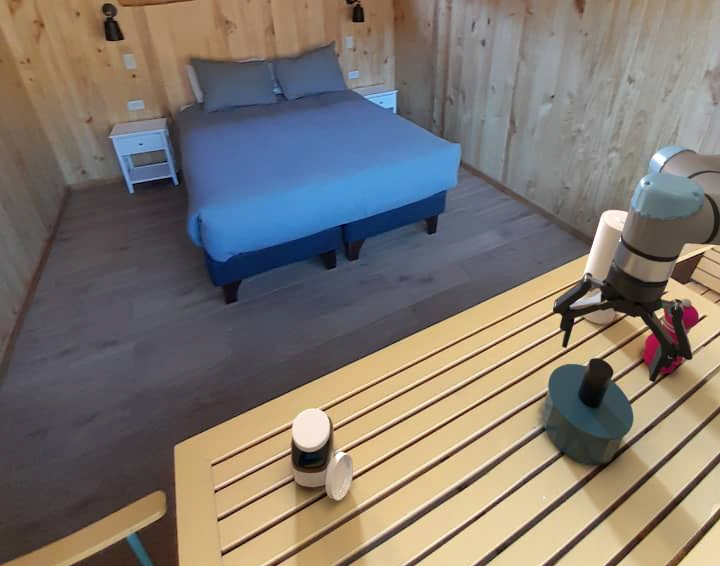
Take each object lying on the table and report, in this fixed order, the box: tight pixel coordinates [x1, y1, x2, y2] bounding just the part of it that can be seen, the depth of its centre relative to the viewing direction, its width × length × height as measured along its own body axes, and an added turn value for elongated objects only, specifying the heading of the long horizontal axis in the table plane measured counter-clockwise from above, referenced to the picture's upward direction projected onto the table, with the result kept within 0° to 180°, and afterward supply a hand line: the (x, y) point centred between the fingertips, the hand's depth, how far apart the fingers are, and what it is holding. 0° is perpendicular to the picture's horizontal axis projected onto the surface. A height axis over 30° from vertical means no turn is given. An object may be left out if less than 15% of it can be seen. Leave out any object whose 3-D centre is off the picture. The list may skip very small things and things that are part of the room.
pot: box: [541, 390, 624, 467], centre depth 80 cm, size 14×14×10 cm
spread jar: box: [290, 408, 354, 501], centre depth 74 cm, size 12×11×12 cm
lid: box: [547, 357, 635, 440], centre depth 76 cm, size 15×15×10 cm
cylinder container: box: [576, 209, 628, 325], centre depth 102 cm, size 9×9×30 cm
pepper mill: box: [642, 298, 700, 374], centre depth 90 cm, size 7×7×20 cm
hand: (606, 358), depth 72 cm, fingers open, 13 cm apart
